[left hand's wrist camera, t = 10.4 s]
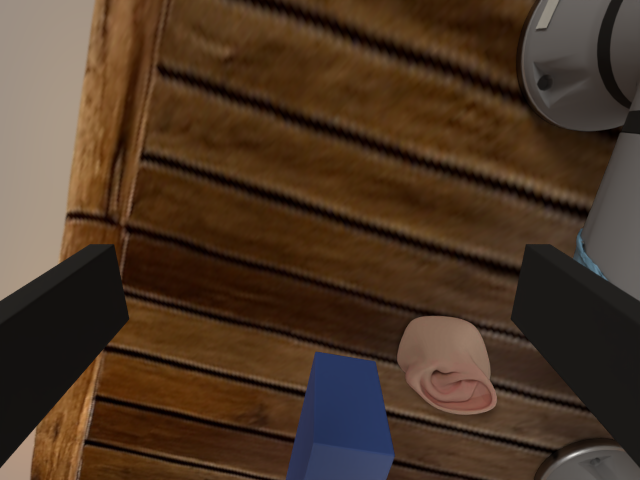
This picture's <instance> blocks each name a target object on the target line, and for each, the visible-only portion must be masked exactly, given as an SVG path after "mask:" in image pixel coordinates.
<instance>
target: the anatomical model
mask: <svg viewBox="0 0 640 480" xmlns="http://www.w3.org/2000/svg"><path fill="white" fill-rule="evenodd" d="M397 361H398V364H399V366H400V367H401V369H402V370H403V371H404V372H405V373H406V375H405V378H406V381H407V383H408V384H409V386H410V387H412V388H413V389H414V390H415V391H416V392H417V393H418V394H419V395H420V396H421V397H422V398H423V399H424V400H425V401H426V402H427V403H429V404H430V405H432V406H433V407H435V408H437V409H439V410H442V411H445V412H449V413H454V414H461V415H470V414H478V413H483V412H486V411H489V410H491V409H492V408H494V407H495V405H496V403H497V396H496V392H495V389H494V387H493V385H492V383H491V382H490V380H489V379H490V375H491V371H490V363H489V358H488V354H487V351H486V347H485V344H484V341H483V339H482V337H481V335H480V333H479V331H478V330H477V328H476V327H475V326H474V325H472V324H471V323H469V322H467V321H465V320H462V319H458V318H453V317H445V316H424V317H419V318H416V319H414V320H412V321H411V322H410V323H409V325H408V326H407V328H406V330H405V332H404V334H403V337H402V339H401V342H400V345H399V349H398V354H397Z"/></svg>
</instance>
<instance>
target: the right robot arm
mask: <svg viewBox="0 0 640 480" xmlns="http://www.w3.org/2000/svg"><path fill="white" fill-rule="evenodd" d="M534 480H640V468H639V467H638V465H637V464H636V463H635V462H634V461H633V460H632V459H631V457H630V456H629V455H628V454H627V453H626V452H625V450H624V449H623V448H622V447H621V446H620V445H619V444H618V442H617V441H615V440H611V439H589V440H583V441H579V442H576V443H573V444H570V445H568V446H565V447H563V448H561V449H560V450H558V451H556V452H555V453H553V454H552V455H551V456H549V457H548V458H547V459H546V460H545V461H544V462H543V463H542V465H541V466H540V467H539V469H538V471H537V473H536V475H535V478H534Z"/></svg>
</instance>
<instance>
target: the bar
mask: <svg viewBox="0 0 640 480" xmlns="http://www.w3.org/2000/svg"><path fill="white" fill-rule="evenodd" d="M394 457H395V454H394V449H393V444H392V440H391V435H390V430H389V425H388V420H387V415H386V410H385V406H384V401H383V396H382V391H381V386H380V381H379V377H378V372H377V367H376V362H375V361H369V360H363V359H357V358H351V357H345V356H339V355H333V354H327V353H321V352H315V356H314V360H313V365H312V369H311V373H310V378H309V382H308V386H307V390H306V395H305V399H304V403H303V408H302V412H301V416H300V421H299V425H298V429H297V434H296V438H295V442H294V447H293V451H292V455H291V459H290V464H289V468H288V472H287V477H286V480H386V479H387V476H388V473H389V470H390V468H391V465H392V462H393V459H394Z"/></svg>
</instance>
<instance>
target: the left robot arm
mask: <svg viewBox="0 0 640 480" xmlns="http://www.w3.org/2000/svg"><path fill="white" fill-rule="evenodd" d="M517 75H518V80H519V84H520V88H521V91H522V93H523V95H524V97H525V99H526V101H527V103H528V104H529V106H530V107H531V108H532V109H533V111H534V112H535V113H536V114H537V115H539V116H540V117H541V118H542V119H544V120H545V121H547V122H548V123H550V124H552V125H555V126H557V127H560V128H564V129H570V130H578V131H598V130H606V129H611V128H616V127H619V126H622V125H624V126H623V128H622V131H621V132H622V133H620V134H619V137H618V140H617V142H616V145H615V147H614V150H613V153H612V155H611V158H610V161H609V163H608V166H607V168H606V171H605V174H604V176H603V179H602V181H601V184H600V187H599V189H598V192H597V194H596V197H595V200H594V202H593V205H592V207H591V210H590V212H589V215H588V217H587V220H586V222H585V225H584V227H583V228H582V229H581V230H580V231H579V233H578V236H577V240H576V243H577V247H576V250H575V253H574V257H573V259H572V258H571V257H569V256H568V255H566V254H564V253H563V252H561V251H560V250H558V249H557V248H555V247H553V246H552V245H550V244H526V247H525V252H524V257H523V261H522V266H521V271H520V276H519V281H518V286H517V291H516V296H515V300H514V305H513V310H512V315H511V320H512V321H513V322H514V323H515V325H516V326H517V327H518V328H519V329H520V330H521V332H522V333H523V334H524V335H525V336H526V337H527V339H528V340H529V341H530V342H531V343H532V344H533V345H534V347H535V348H536V349H537V350H538V351H539V352H540V354H541V355H542V356H543V357H544V358H545V359H546V360H547V362H548V363H549V364H550V365H551V366H552V367H553V369H554V370H555V371H556V372H557V373H558V374H559V375H560V377H561V378H562V379H563V380H564V381H565V382H566V384H567V385H568V386H569V387H570V388H571V389H572V390H573V392H574V393H575V394H576V395H577V396H578V397H579V399H580V400H581V401H582V402H583V403H584V404H585V405H586V407H587V408H588V409H589V410H590V411H591V412H592V414H593V415H594V416H595V417H596V418H597V419H598V420H599V422H600V423H601V424H602V425H603V426H604V427H605V429H606V430H607V431H608V432H609V433H610V434H611V435H612V437H613V438H614V439H615V440H616V441H617V442H618V444H619V445H620V446H621V447H622V448H623V449H624V450H625V452H626V453H627V454H628V455H629V456H630V457H631V459H632V460H633V461H634V462H635V463H636V464H637V465H638V467H639V468H640V0H536V1H535V3H534V4H533V6H532V8H531V10H530V12H529V14H528V16H527V18H526V20H525V22H524V25H523V28H522V31H521V34H520V38H519V43H518V48H517ZM128 320H129V315H128V310H127V305H126V300H125V296H124V291H123V286H122V281H121V276H120V271H119V266H118V261H117V257H116V252H115V247H114V244H90V245H88V246H87V247H85V248H83V249H82V250H80V251H79V252H77V253H76V254H74V255H72V256H71V257H69V258H68V259H66V260H64V261H63V262H61V263H60V264H58V265H57V266H55V267H53V268H52V269H50V270H49V271H47V272H46V273H44V274H42V275H41V276H39V277H38V278H36V279H34V280H33V281H31V282H30V283H28V284H27V285H25V286H23V287H22V288H20V289H19V290H17V291H15V292H14V293H12V294H11V295H9V296H8V297H6V298H4V299H3V300H1V301H0V468H1V467H2V465H3V464H4V463H5V462H6V461H7V460H8V459H9V457H10V456H11V455H12V454H13V453H14V452H15V450H16V449H17V448H18V447H19V446H20V445H21V444H22V442H23V441H24V440H25V439H26V438H27V437H28V435H29V434H30V433H31V432H32V431H33V430H34V429H35V427H36V426H37V425H38V424H39V423H40V422H41V420H42V419H43V418H44V417H45V416H46V415H47V414H48V412H49V411H50V410H51V409H52V408H53V407H54V405H55V404H56V403H57V402H58V401H59V400H60V399H61V397H62V396H63V395H64V394H65V393H66V392H67V390H68V389H69V388H70V387H71V386H72V385H73V384H74V382H75V381H76V380H77V379H78V378H79V377H80V375H81V374H82V373H83V372H84V371H85V370H86V369H87V367H88V366H89V365H90V364H91V363H92V362H93V360H94V359H95V358H96V357H97V356H98V355H99V354H100V352H101V351H102V350H103V349H104V348H105V347H106V345H107V344H108V343H109V342H110V341H111V340H112V339H113V337H114V336H115V335H116V334H117V333H118V332H119V330H120V329H121V328H122V327H123V326H124V325H125V323H126V322H127V321H128Z"/></svg>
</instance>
